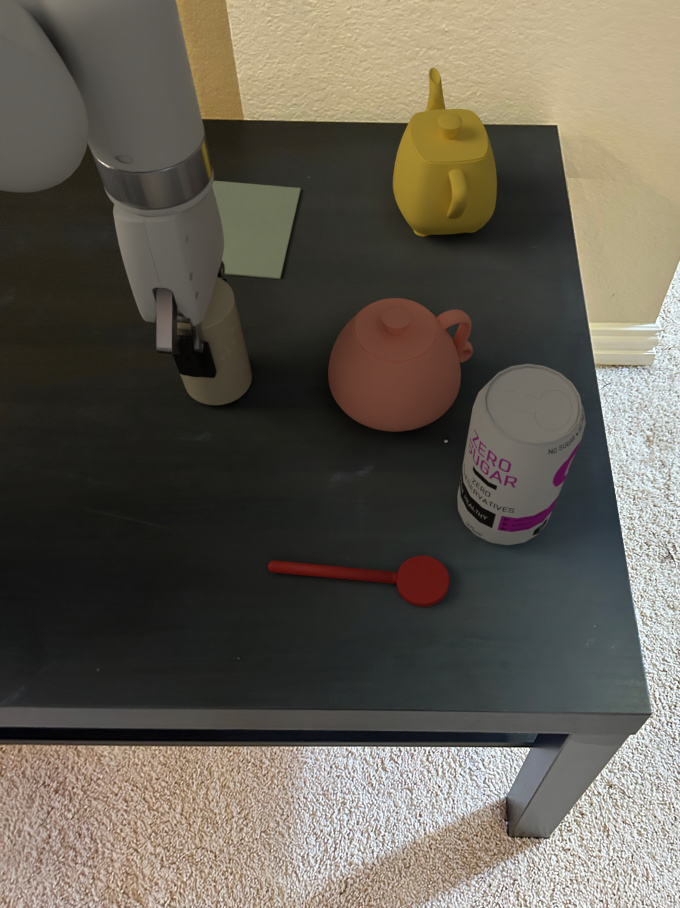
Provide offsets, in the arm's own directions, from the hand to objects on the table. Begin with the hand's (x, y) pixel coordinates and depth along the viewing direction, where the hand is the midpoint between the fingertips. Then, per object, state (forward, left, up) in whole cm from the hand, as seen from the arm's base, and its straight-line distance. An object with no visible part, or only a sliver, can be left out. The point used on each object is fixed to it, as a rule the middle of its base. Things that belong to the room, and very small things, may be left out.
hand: (207, 341), depth 67 cm
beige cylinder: (0, 0, -5) cm, 5 cm away
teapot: (+20, +27, -6) cm, 34 cm away
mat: (-3, +21, -6) cm, 22 cm away
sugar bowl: (+18, +1, -6) cm, 19 cm away
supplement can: (+28, -11, -6) cm, 30 cm away
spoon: (+16, -19, -6) cm, 25 cm away
